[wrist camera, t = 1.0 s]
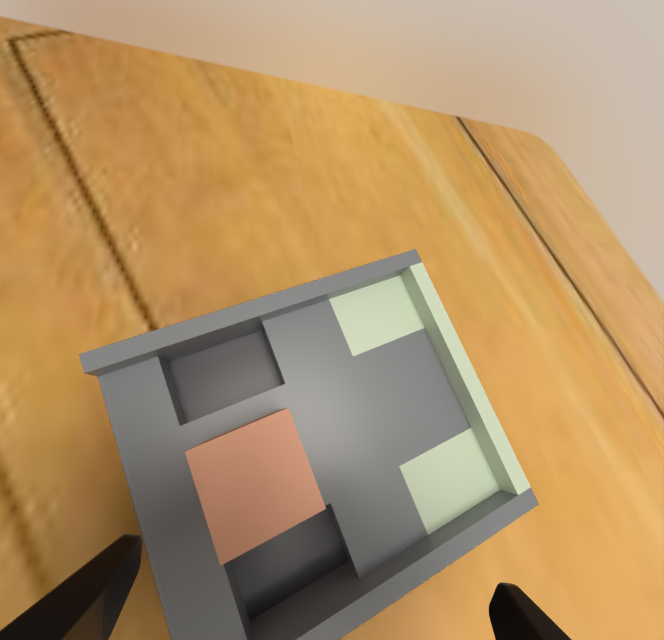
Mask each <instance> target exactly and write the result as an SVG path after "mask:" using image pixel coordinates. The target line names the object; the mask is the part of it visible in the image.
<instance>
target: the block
mask: <svg viewBox="0 0 664 640" xmlns="http://www.w3.org/2000/svg"><path fill="white" fill-rule="evenodd" d="M185 454H186V457H187V461H188V464H189V467H190V470H191V473H192V476H193V480H194V483H195V486H196V489H197V492H198V496H199V499H200V502H201V505H202V508H203V512H204V515H205V518H206V521H207V524H208V528H209V531H210V534H211V537H212V540H213V543H214V547H215V550H216V553H217V556H218V559H219V563H220V566H221V565H223V564H225V563H227V562H229V561H230V560H232V559H234V558H236V557H238V556H240V555H242V554H243V553H245V552H247V551H249V550H251V549H253V548H254V547H256V546H258V545H260V544H262V543H264V542H266V541H267V540H269V539H271V538H273V537H275V536H277V535H279V534H280V533H282V532H284V531H286V530H288V529H290V528H292V527H293V526H295V525H297V524H299V523H301V522H303V521H304V520H306V519H308V518H310V517H312V516H314V515H316V514H317V513H319V512H321V511H323V510H325V509H326V507H325V504H324V501H323V499H322V496H321V493H320V491H319V488H318V485H317V483H316V480H315V477H314V475H313V472H312V469H311V467H310V464H309V461H308V459H307V456H306V453H305V451H304V448H303V445H302V443H301V440H300V437H299V435H298V432H297V429H296V427H295V424H294V421H293V419H292V416H291V413H290V411H289V408H284V409H280V410H278V411H275V412H273V413H271V414H268V415H266V416H263V417H261V418H259V419H256V420H254V421H252V422H249V423H247V424H245V425H242V426H240V427H237V428H235V429H233V430H230V431H228V432H226V433H223V434H221V435H219V436H216V437H214V438H211V439H209V440H207V441H204V442H202V443H200V444H198V445H196V446H194V447H193V448H191V449H189V450H187V451H185Z"/></svg>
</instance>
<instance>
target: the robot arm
mask: <svg viewBox="0 0 664 640" xmlns="http://www.w3.org/2000/svg"><path fill="white" fill-rule="evenodd" d="M141 552H142V537H141V536H138V535H130V534H125V535H123V536H121V537H120V538H118V539H117V540H116V541H114V542H113V543H112V544H111V545H109V546H108V547H107V548H105V549H104V550H103V551H102V552H100V553H99V554H98V555H96V556H95V557H94V558H93V559H91V560H90V561H89V562H88V563H86V564H85V565H84V566H82V567H81V568H80V569H79V570H77V571H76V572H75V573H73V574H72V575H71V576H70V577H68V578H67V579H66V580H65V581H63V582H62V583H61V584H59V585H58V586H57V587H56V588H54V589H53V590H52V591H50V592H49V593H48V594H47V595H45V596H44V597H43V598H41V599H40V600H39V601H38V602H36V603H35V604H34V605H33V606H31V607H30V608H29V609H27V610H26V611H25V612H24V613H22V614H21V615H20V616H18V617H17V618H16V619H15V620H13V621H12V622H11V623H10V624H8V625H7V626H6V627H4V628H3V629H2V630H1V631H0V640H109V637H110V635H111V633H112V631H113V628H114V626H115V624H116V621H117V619H118V617H119V615H120V612H121V610H122V608H123V606H124V603H125V601H126V599H127V596H128V594H129V592H130V590H131V587H132V585H133V583H134V580H135V578H136V576H137V573H138V571H139V567H140V563H141ZM489 616H490V621H491V624H492V628H493V631H494V635H495V639H496V640H571V639H570V638H569V637H568V636H567V635H566V634H565V633H564V632H563V631H562V630H561V629H560V628H559V627H558V626H557V625H556V624H555V623H554V622H553V621H552V620H551V619H550V618H549V617H548V616H547V615H546V614H545V613H544V612H543V611H542V610H541V609H540V608H539V607H538V606H537V605H536V604H535V603H534V602H533V601H532V600H531V599H530V598H529V597H528V596H527V595H526V594H525V593H524V592H523V591H522V590H521V589H520V588H519V587H518V586H516V585H514V584H510V583H499V584H498V585H497V587H496V590H495V592H494V595H493V597H492V599H491V602H490V605H489Z"/></svg>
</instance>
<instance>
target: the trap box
mask: <svg viewBox="0 0 664 640" xmlns="http://www.w3.org/2000/svg"><path fill="white" fill-rule="evenodd" d="M79 356H80V360H81V364H82V367H83V371H84V373H85V374H89V375H93V376H97V377H98V379H99V383H100V386H101V390H102V393H103V397H104V401H105V404H106V408H107V411H108V415H109V418H110V422H111V426H112V429H113V433H114V436H115V440H116V443H117V447H118V451H119V454H120V458H121V461H122V465H123V468H124V472H125V476H126V479H127V483H128V486H129V490H130V494H131V497H132V501H133V504H134V508H135V511H136V515H137V519H138V522H139V526H140V529H141V533H142V536H143V540H144V544H145V547H146V551H147V554H148V558H149V561H150V565H151V569H152V572H153V576H154V579H155V583H156V586H157V590H158V594H159V597H160V601H161V604H162V608H163V611H164V615H165V619H166V622H167V626H168V629H169V633H170V636H171V640H339V639H341V638H342V637H344V636H345V635H347V634H348V633H349V632H351V631H352V630H354V629H355V628H357V627H358V626H360V625H361V624H363V623H364V622H366V621H367V620H369V619H370V618H372V617H373V616H375V615H376V614H378V613H379V612H380V611H382V610H383V609H385V608H386V607H388V606H389V605H391V604H392V603H394V602H395V601H397V600H398V599H400V598H401V597H403V596H404V595H406V594H407V593H409V592H410V591H412V590H413V589H414V588H416V587H417V586H419V585H420V584H422V583H423V582H425V581H426V580H428V579H429V578H431V577H432V576H434V575H435V574H437V573H438V572H440V571H441V570H443V569H444V568H445V567H447V566H448V565H450V564H451V563H453V562H454V561H456V560H457V559H459V558H460V557H462V556H463V555H465V554H466V553H468V552H469V551H471V550H472V549H474V548H475V547H476V546H478V545H479V544H481V543H482V542H484V541H485V540H487V539H488V538H490V537H491V536H493V535H494V534H496V533H497V532H499V531H500V530H502V529H503V528H505V527H506V526H508V525H509V524H510V523H512V522H513V521H515V520H516V519H518V518H519V517H521V516H522V515H524V514H525V513H527V512H528V511H530V510H531V509H533V508H534V507H536V506H537V505H539V503H538V501H537V499H536V497H535V495H534V493H533V491H532V489H531V487H530V485H529V483H528V481H527V478H526V476H525V474H524V472H523V470H522V468H521V466H520V464H519V462H518V460H517V458H516V456H515V454H514V452H513V449H512V447H511V445H510V443H509V441H508V439H507V437H506V435H505V433H504V431H503V429H502V427H501V425H500V423H499V420H498V418H497V416H496V414H495V412H494V410H493V408H492V406H491V404H490V402H489V400H488V398H487V396H486V394H485V391H484V389H483V387H482V385H481V383H480V381H479V379H478V377H477V375H476V373H475V371H474V369H473V367H472V364H471V362H470V360H469V358H468V356H467V354H466V352H465V350H464V348H463V346H462V344H461V342H460V340H459V338H458V335H457V333H456V331H455V329H454V327H453V325H452V323H451V321H450V319H449V317H448V315H447V313H446V311H445V309H444V306H443V304H442V302H441V300H440V298H439V296H438V294H437V292H436V290H435V288H434V286H433V284H432V282H431V280H430V277H429V275H428V273H427V271H426V269H425V267H424V265H423V263H422V261H421V259H420V257H419V255H418V253H417V251H416V249H414V250H411V251H408V252H405V253H401V254H398V255H395V256H392V257H389V258H385V259H382V260H379V261H376V262H373V263H369V264H366V265H363V266H360V267H357V268H353V269H350V270H347V271H344V272H341V273H337V274H334V275H331V276H328V277H325V278H321V279H318V280H315V281H312V282H309V283H305V284H302V285H299V286H296V287H293V288H289V289H286V290H283V291H280V292H276V293H273V294H270V295H267V296H264V297H260V298H257V299H254V300H251V301H248V302H244V303H241V304H238V305H235V306H232V307H228V308H225V309H222V310H219V311H216V312H212V313H209V314H206V315H203V316H200V317H196V318H193V319H190V320H187V321H184V322H180V323H177V324H174V325H171V326H168V327H164V328H161V329H158V330H155V331H152V332H148V333H145V334H142V335H139V336H136V337H132V338H129V339H126V340H123V341H120V342H116V343H113V344H110V345H107V346H104V347H100V348H97V349H94V350H91V351H88V352H84V353H81V354H79ZM284 408H289V411H290V413H291V416H292V419H293V421H294V424H295V427H296V429H297V432H298V435H299V437H300V440H301V443H302V445H303V448H304V451H305V453H306V456H307V459H308V461H309V464H310V467H311V469H312V472H313V475H314V477H315V480H316V483H317V485H318V488H319V491H320V493H321V496H322V499H323V501H324V504H325V507H326V509H325V510H323V511H321V512H319V513H317V514H316V515H314V516H312V517H310V518H308V519H306V520H304V521H303V522H301V523H299V524H297V525H295V526H293V527H292V528H290V529H288V530H286V531H284V532H282V533H280V534H279V535H277V536H275V537H273V538H271V539H269V540H267V541H266V542H264V543H262V544H260V545H258V546H256V547H254V548H253V549H251V550H249V551H247V552H245V553H243V554H242V555H240V556H238V557H236V558H234V559H232V560H230V561H229V562H227V563H225V564H223V565H221V566H220V563H219V559H218V556H217V553H216V550H215V547H214V543H213V540H212V537H211V534H210V531H209V528H208V524H207V521H206V518H205V515H204V512H203V508H202V505H201V502H200V499H199V496H198V492H197V489H196V486H195V483H194V480H193V476H192V473H191V470H190V467H189V464H188V461H187V457H186V454H185V451H187V450H189V449H191V448H193V447H194V446H196V445H198V444H200V443H202V442H204V441H207V440H209V439H211V438H214V437H216V436H219V435H221V434H223V433H226V432H228V431H230V430H233V429H235V428H237V427H240V426H242V425H245V424H247V423H249V422H252V421H254V420H256V419H259V418H261V417H263V416H266V415H268V414H271V413H273V412H275V411H278V410H280V409H284Z"/></svg>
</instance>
